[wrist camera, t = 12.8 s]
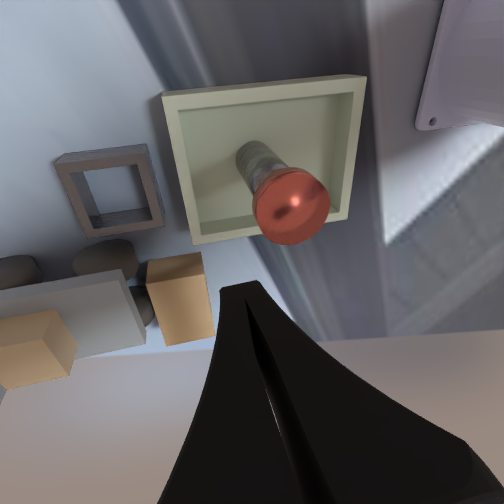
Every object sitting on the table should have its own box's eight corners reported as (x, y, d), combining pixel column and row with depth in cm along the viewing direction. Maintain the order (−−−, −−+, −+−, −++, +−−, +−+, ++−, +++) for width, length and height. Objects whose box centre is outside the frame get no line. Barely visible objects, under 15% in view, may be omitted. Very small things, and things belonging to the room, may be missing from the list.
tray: (345, 74, 16) (367, 76, 15) (332, 204, 21) (347, 218, 19) (162, 91, 15) (161, 96, 13) (191, 227, 19) (193, 245, 18)
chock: (200, 250, 21) (204, 273, 19) (211, 309, 24) (215, 335, 22) (148, 258, 20) (145, 284, 18) (166, 318, 24) (166, 346, 21)
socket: (146, 143, 16) (144, 153, 15) (164, 212, 18) (164, 226, 17) (64, 153, 15) (53, 164, 14) (94, 223, 18) (87, 238, 16)
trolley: (136, 235, 19) (121, 312, 13) (156, 295, 22) (151, 378, 16) (-20, 261, 18) (-108, 358, 12) (24, 320, 21) (-30, 420, 15)
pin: (278, 130, 17) (333, 170, 11) (278, 180, 18) (327, 238, 13) (225, 136, 16) (255, 182, 11) (231, 187, 18) (259, 250, 12)
